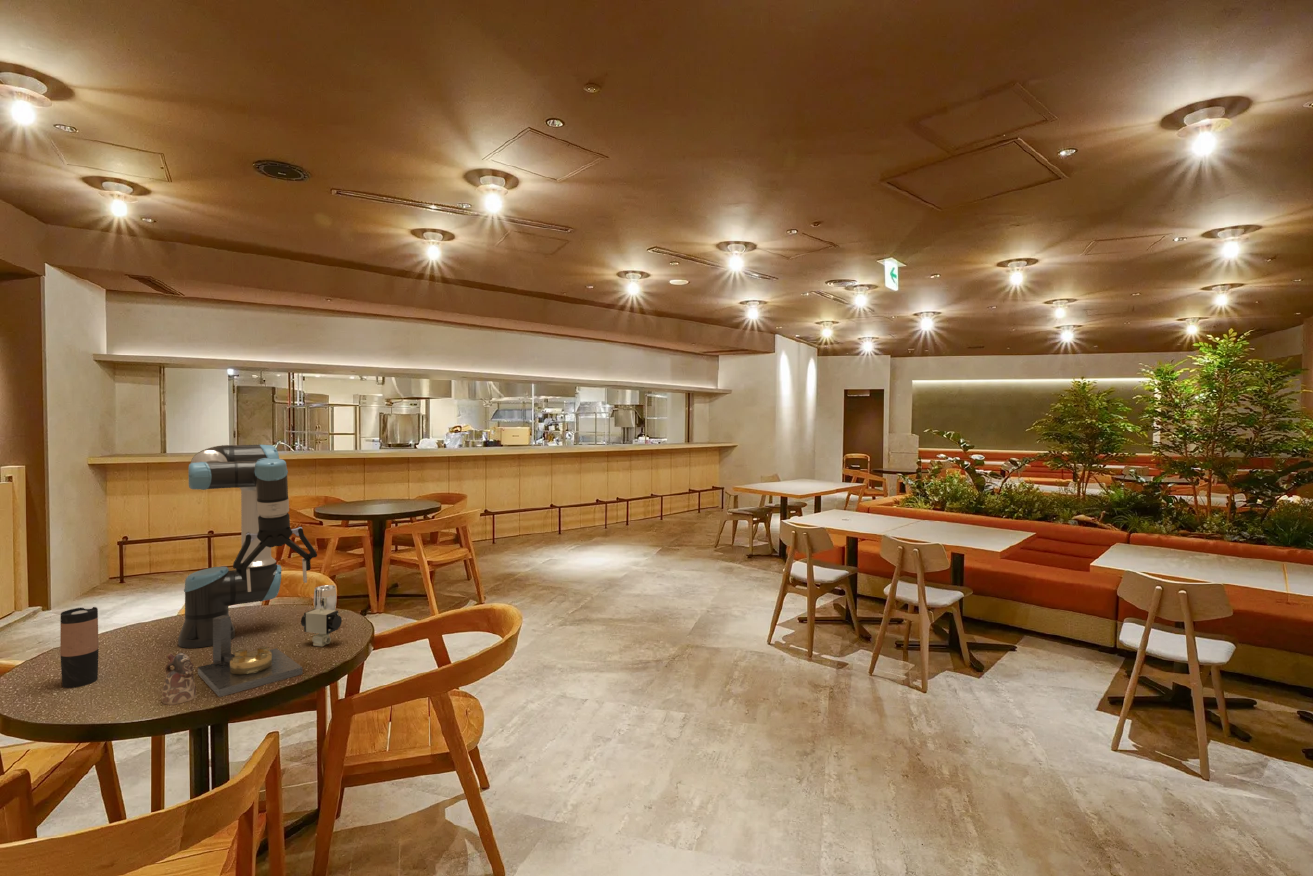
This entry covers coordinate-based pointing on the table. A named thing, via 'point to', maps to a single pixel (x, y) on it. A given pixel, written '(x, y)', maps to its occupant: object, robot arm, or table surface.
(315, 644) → the pneumatic valve
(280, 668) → the base plate
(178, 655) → the figurine
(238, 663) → the metal fixture
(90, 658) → the travel mug
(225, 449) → the robot arm
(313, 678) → the table surface
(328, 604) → the beer glass
